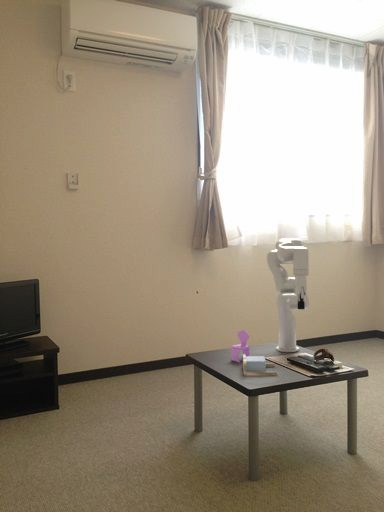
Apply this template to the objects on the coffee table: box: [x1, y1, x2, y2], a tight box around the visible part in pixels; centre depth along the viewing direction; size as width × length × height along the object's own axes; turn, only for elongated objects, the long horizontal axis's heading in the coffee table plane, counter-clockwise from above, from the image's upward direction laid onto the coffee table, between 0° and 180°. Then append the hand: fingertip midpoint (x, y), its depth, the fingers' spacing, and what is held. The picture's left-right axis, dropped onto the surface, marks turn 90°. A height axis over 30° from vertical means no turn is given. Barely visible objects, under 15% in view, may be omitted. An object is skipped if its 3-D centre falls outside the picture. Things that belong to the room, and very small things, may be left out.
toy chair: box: [230, 329, 251, 363], centre depth 245 cm, size 8×9×15 cm
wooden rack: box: [242, 353, 278, 377], centre depth 225 cm, size 16×15×6 cm
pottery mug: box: [313, 347, 335, 362], centre depth 238 cm, size 12×10×8 cm
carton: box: [246, 355, 267, 372], centre depth 225 cm, size 9×9×6 cm
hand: (301, 309), depth 236 cm, fingers closed
